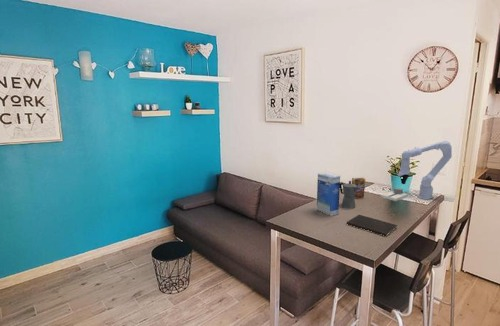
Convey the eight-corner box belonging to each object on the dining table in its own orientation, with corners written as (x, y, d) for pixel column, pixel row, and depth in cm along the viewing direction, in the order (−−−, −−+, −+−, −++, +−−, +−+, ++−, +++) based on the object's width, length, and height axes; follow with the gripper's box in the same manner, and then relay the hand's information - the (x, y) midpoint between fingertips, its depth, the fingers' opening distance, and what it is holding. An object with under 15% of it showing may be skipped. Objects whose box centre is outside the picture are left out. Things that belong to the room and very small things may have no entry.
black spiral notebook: (358, 217, 182) (359, 214, 182) (397, 228, 166) (397, 225, 165) (346, 225, 171) (346, 221, 171) (386, 238, 155) (386, 234, 155)
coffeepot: (360, 207, 199) (362, 182, 195) (352, 210, 194) (353, 184, 190) (342, 201, 211) (344, 177, 207) (334, 203, 206) (335, 179, 202)
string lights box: (339, 214, 187) (341, 175, 182) (330, 216, 183) (332, 177, 178) (323, 208, 198) (325, 171, 193) (315, 210, 194) (317, 173, 189)
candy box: (353, 198, 216) (354, 179, 212) (350, 197, 220) (351, 177, 217) (364, 198, 217) (365, 178, 214) (361, 196, 221) (362, 177, 218)
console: (393, 193, 228) (393, 190, 227) (407, 196, 219) (407, 194, 219) (381, 197, 218) (381, 194, 218) (395, 201, 209) (395, 198, 209)
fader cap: (396, 191, 224) (396, 187, 223) (402, 193, 220) (403, 188, 219) (393, 192, 222) (393, 188, 221) (399, 194, 218) (400, 189, 217)
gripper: (404, 164, 228) (402, 181, 230) (394, 167, 219) (393, 184, 222) (413, 166, 222) (412, 183, 225) (404, 168, 214) (402, 186, 217)
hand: (403, 183), depth 223 cm, fingers closed
